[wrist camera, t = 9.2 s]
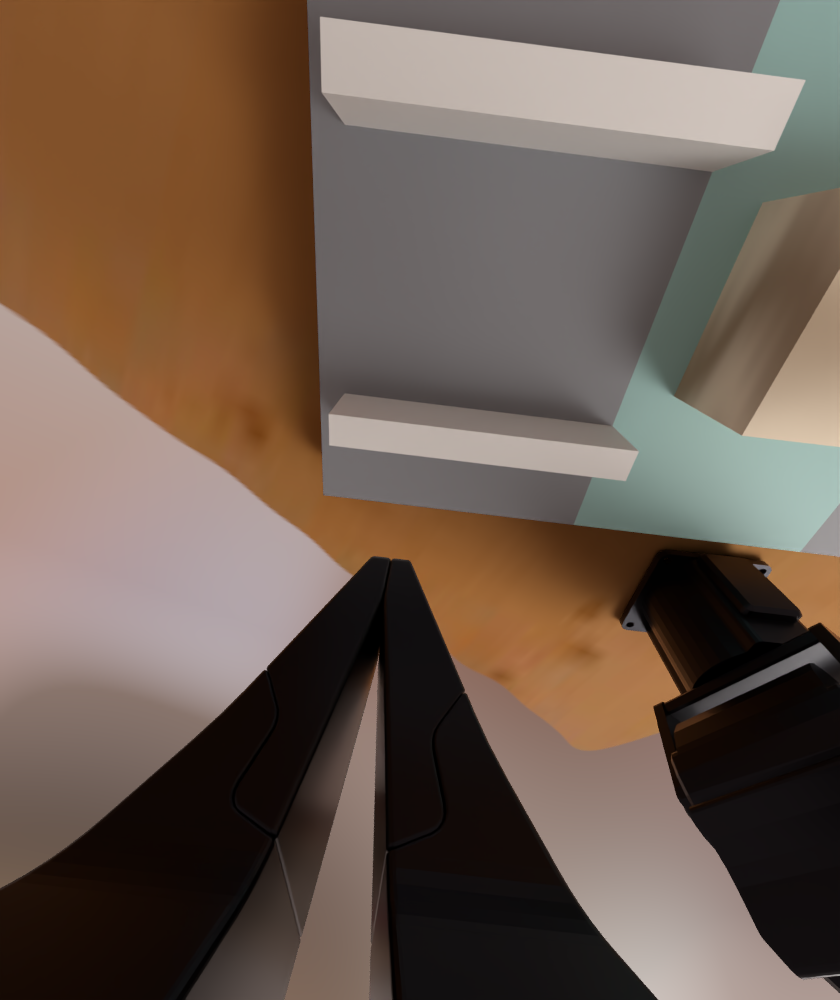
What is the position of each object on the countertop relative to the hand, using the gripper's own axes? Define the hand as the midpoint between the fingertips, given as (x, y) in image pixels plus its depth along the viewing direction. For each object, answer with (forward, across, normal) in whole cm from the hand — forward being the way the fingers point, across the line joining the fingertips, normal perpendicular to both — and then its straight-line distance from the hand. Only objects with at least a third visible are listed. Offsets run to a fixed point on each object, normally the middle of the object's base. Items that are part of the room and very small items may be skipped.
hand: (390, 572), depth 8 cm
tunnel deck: (+12, -12, -5) cm, 18 cm away
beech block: (+9, -13, -6) cm, 17 cm away
